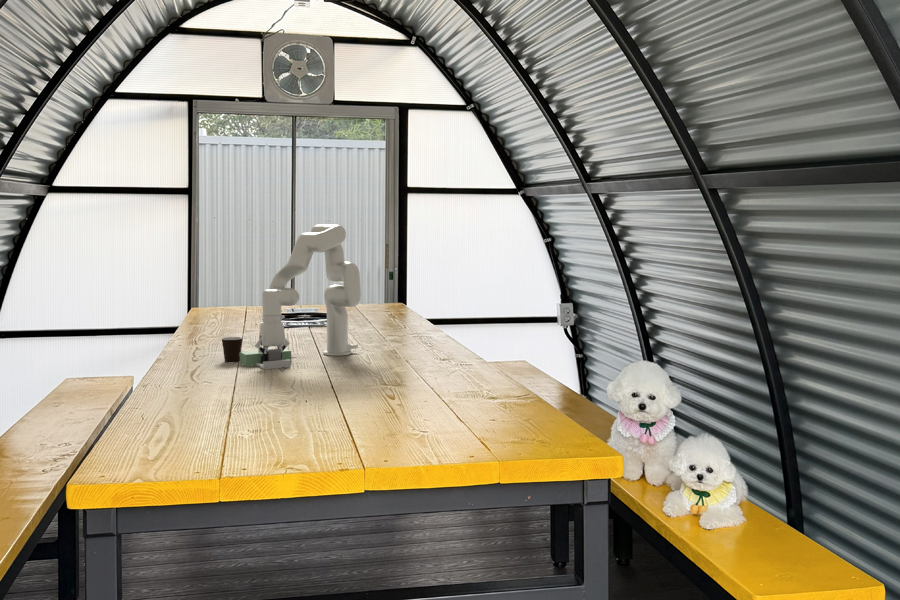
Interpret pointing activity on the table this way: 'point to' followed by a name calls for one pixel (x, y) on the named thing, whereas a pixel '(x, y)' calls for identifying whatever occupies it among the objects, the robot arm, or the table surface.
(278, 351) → the grey block
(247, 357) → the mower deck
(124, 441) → the table surface
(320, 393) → the table surface
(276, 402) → the table surface
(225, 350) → the coffee mug
